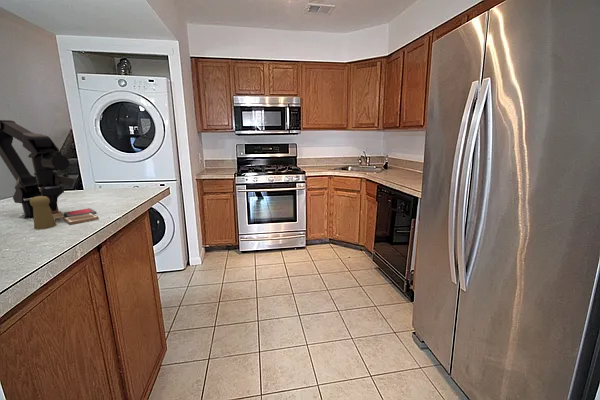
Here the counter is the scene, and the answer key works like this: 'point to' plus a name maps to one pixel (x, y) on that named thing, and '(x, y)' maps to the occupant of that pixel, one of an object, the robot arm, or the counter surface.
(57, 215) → the wooden stamp
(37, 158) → the robot arm
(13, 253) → the counter surface
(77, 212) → the ink pad
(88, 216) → the stamp board
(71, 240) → the counter surface
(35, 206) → the cork
